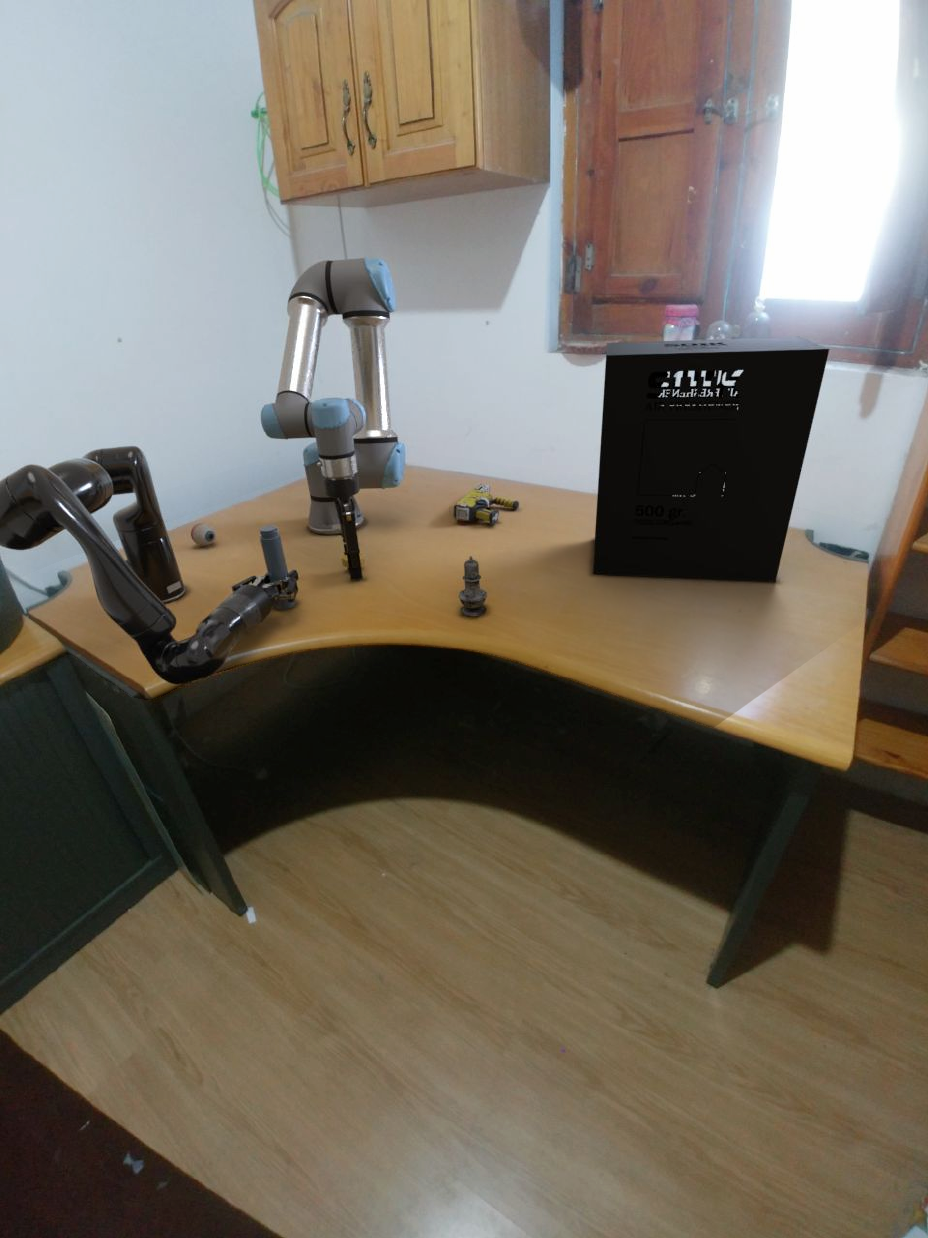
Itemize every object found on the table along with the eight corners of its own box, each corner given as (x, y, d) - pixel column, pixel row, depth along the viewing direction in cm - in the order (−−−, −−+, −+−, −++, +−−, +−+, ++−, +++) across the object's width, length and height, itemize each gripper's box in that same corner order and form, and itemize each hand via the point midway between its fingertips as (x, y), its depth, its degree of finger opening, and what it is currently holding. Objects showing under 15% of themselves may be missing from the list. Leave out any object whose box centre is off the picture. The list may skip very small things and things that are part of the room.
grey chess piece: (485, 617, 120) (483, 562, 114) (456, 616, 121) (452, 561, 115) (490, 603, 125) (488, 550, 119) (462, 602, 126) (459, 549, 120)
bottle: (286, 599, 132) (269, 523, 123) (298, 603, 130) (282, 526, 121) (271, 606, 129) (253, 529, 120) (284, 611, 127) (266, 533, 118)
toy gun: (527, 488, 179) (479, 481, 183) (505, 513, 159) (452, 504, 162) (525, 503, 181) (478, 496, 185) (503, 529, 161) (451, 520, 165)
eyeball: (204, 551, 157) (198, 529, 154) (189, 547, 160) (183, 525, 157) (223, 542, 162) (217, 521, 159) (208, 539, 165) (202, 518, 162)
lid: (346, 570, 136) (345, 562, 135) (340, 562, 140) (338, 555, 139) (367, 564, 138) (366, 557, 137) (360, 557, 142) (359, 550, 141)
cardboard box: (755, 543, 144) (798, 336, 121) (775, 581, 127) (829, 348, 104) (594, 538, 151) (606, 342, 129) (592, 573, 134) (606, 355, 112)
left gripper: (271, 597, 111) (313, 558, 125) (204, 592, 114) (252, 555, 128) (280, 632, 114) (319, 590, 129) (214, 626, 118) (260, 586, 132)
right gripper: (318, 467, 136) (334, 562, 147) (326, 489, 121) (343, 592, 132) (352, 463, 137) (365, 557, 149) (363, 484, 122) (377, 587, 134)
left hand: (285, 573), depth 128 cm, fingers closed on bottle, 4 cm apart
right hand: (355, 573), depth 140 cm, fingers closed on lid, 5 cm apart
